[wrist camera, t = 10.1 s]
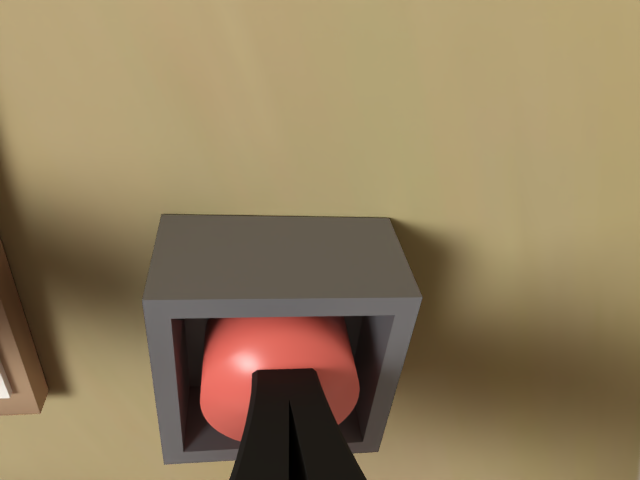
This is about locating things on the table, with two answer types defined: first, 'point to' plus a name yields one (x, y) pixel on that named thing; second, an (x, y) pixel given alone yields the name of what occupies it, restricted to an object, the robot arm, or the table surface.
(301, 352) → the button
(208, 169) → the table surface
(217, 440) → the button box
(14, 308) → the clipboard
